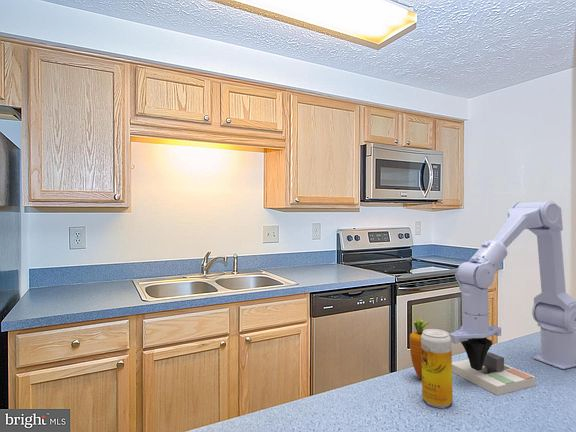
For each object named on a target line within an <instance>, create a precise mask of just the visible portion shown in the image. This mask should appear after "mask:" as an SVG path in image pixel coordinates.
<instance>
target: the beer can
mask: <svg viewBox="0 0 576 432" xmlns="http://www.w3.org/2000/svg"><path fill="white" fill-rule="evenodd" d="M452 350H453V349H452V342H451V338H450V336H449V331H446V330H443V329H439V328H438V329H437V328H427V329H426V328H425V330H424V331H423V333H422V335H421V360H422V379H421V393H422V394H421V396H422V398H423V400H424V401H425V403H426V404H428V405H429V406H431V407H434V408H437V409H438V408H439V409H445V408H448V407H449V406H450V405H451V404H452V403H453V399H454V398H453V394H454V393H453V372H452V359H453V358H452Z"/></svg>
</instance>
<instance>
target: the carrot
mask: <svg viewBox="0 0 576 432" xmlns="http://www.w3.org/2000/svg"><path fill="white" fill-rule="evenodd" d="M413 323H414V327H415V330H416V331H414V332H411V333H410V334H409V337H408V338H409V349H410V350H409V353H410V357H411V362H412V367H413V369H414V372H415V373H416V376H417V378H418V379H419V380H422V360H421V335H422V333H423V331H424V330H426V328H425V327H426V326H427V325H428V324H429V321H426V322H424V320H423V319H419V317H418V318H415V321H413Z"/></svg>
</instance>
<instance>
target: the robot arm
mask: <svg viewBox="0 0 576 432" xmlns="http://www.w3.org/2000/svg"><path fill="white" fill-rule="evenodd" d="M526 229H527V230H529V231H530V232H531V233H533V234H534V235H535V236H536V242H537V243H536V244H537V253H538V263H539V266H538V267H539V275H540V276H539V278H540V287H541V288H540V289H541V292H540V293H539V294H537V295H535V296H534V297H533V306H532V310H531V314H532V317H533V320H534V321H535V322H536V323H537V327H539V328H540V355H535V356H533V357H532V358H533V360H537V361H539V362H543V364H548V365H550V366H553V367H555V368H557V369H562V370H566V369H570V368H575V367H576V299H575V298H573V297H572V296H571V295H569V293H567V291H566V277H565V266H564V253H563V243H562V242H563V241H562V231H563V230H564V227H563V214H562V207H560V206H559V205H558V204H557V203H556V202H554V201H551V200H547V201H535V202H534V201H533V202H532V201H531V202H521V201H519V202H515V203H513V204H512V205H511V207H510V208H509V209H508V210H507V218H506V221H505V222H504V223H503V224H502V226H501V227H500V229H499V231H498V232H497V233H496V235H495V237H494V238H493V239H489V240H486V241H482V243H481V246H480V247H479V248H478V250H477V251H476V252H475V253H474V254H473V255H472V257H470V259H469V260H468V261H465V262H462V263H461V264H460V265H458V267H457V270H456V273H454V274H455V275H454V276H455V280H456V281H457V283H458V284H459V286H458V287H459V291H460V292H461V323H462V324H461V326H460V328H459V329H457V330H456V331H453V332H450V333H449V332H448V333H449V336H450V338H451V344H454V345H458V344H459V343H461V345H462V347H463V348H464V350H465V352H466V355H467V359H469V362H470V365H471V368H473V369H475V370H477V371H478V370H482V367H483V363H484V360H485V357H486V354H487V353H488V352H489V350H490V348H492V346H493V341H492V340H491V339H488V338H489V337H495V336H497V337H500V336H502V327H500V326H496V325H490V322H489V321H490V318H489V287H490V286H491V285H493V283H494V281H495V275H496V272H497V268H499V266H500V265H501V264H502V262H503V261H504V260H505V259H506V257H507V256H508V249H507V248H508V247H509V246H511V244H512V243H513V242H514V241H515V240H516V239H517V238H518V237H519V236H520V235H521V234H522V233H523V231H525V230H526Z"/></svg>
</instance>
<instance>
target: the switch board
mask: <svg viewBox="0 0 576 432" xmlns="http://www.w3.org/2000/svg"><path fill="white" fill-rule="evenodd" d="M453 373H454V374H455V375H458V376H459V377H460V378H463V379H465V380H466V381H469V382H471V383H473V384H475V385H476V386H479V387H480V388H482V389H484V390H486V391H488V392H490V393H492V394H494V395H496V396H501V395H505V394H508V393H512V392H516V391H519V390H524V389H528V388H531V387H536V385H537V383H536V376H534V375H531V374H529V373H526V372H525V371H523V370H519V369H517V368H515V367H512V366H510V365H508V364H505V363H504V370H502V371H498V372H494V373H489V374H488V369H487V367H485V366H483V367H482V370H478V371H477V370H475V369H473V368H471V365H470V362H469V358H467V359H463V360H457V361H453V362H452V374H453Z"/></svg>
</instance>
